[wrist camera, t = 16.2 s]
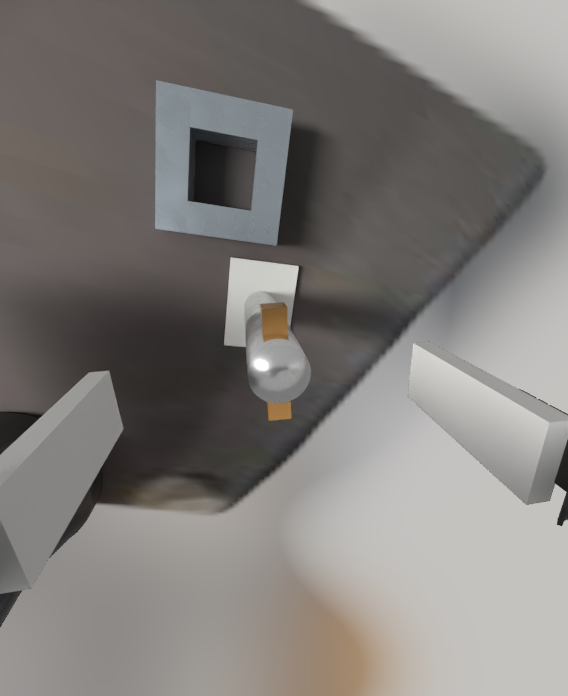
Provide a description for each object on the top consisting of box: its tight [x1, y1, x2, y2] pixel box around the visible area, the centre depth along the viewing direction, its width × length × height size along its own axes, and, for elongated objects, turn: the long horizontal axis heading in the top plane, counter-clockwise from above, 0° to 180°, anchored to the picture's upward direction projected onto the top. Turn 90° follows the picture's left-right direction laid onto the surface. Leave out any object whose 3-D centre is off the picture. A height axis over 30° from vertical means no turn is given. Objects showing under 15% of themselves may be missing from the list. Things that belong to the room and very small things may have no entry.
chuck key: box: [244, 291, 311, 421], centre depth 22 cm, size 3×6×15 cm, turn 2°
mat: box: [224, 257, 299, 347], centre depth 29 cm, size 8×6×1 cm
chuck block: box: [155, 80, 293, 246], centre depth 24 cm, size 9×9×3 cm
